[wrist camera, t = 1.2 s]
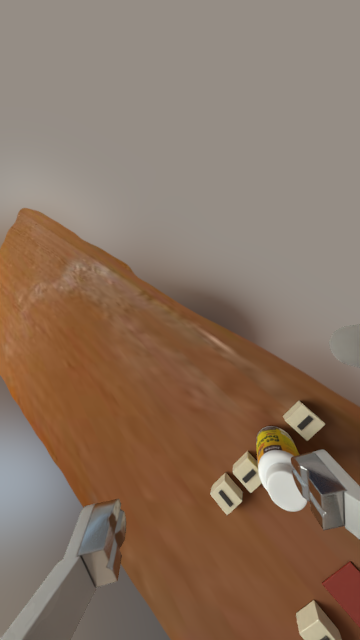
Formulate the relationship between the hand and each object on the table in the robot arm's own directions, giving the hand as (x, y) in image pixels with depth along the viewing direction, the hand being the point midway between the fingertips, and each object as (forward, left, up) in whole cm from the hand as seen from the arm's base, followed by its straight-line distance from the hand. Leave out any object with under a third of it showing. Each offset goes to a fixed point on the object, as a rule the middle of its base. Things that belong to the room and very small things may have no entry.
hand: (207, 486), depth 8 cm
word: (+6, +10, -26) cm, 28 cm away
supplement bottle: (+3, +10, -26) cm, 28 cm away
